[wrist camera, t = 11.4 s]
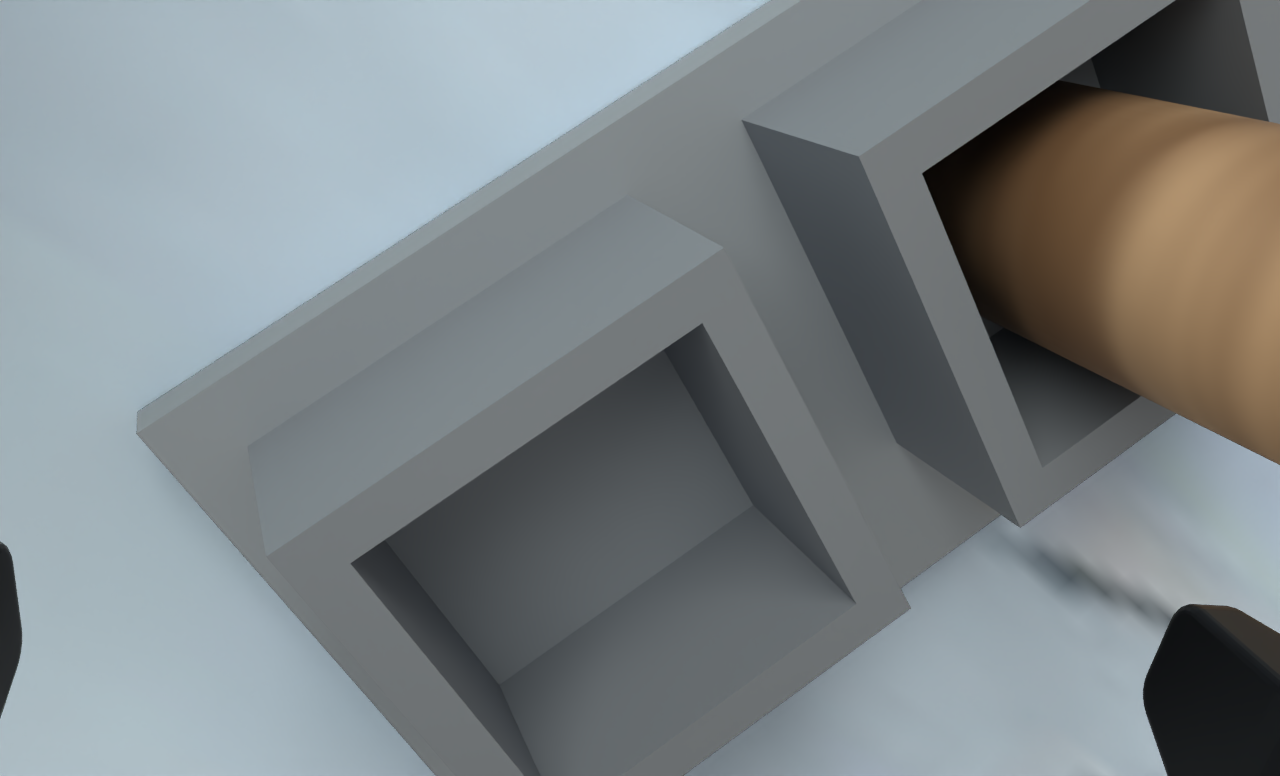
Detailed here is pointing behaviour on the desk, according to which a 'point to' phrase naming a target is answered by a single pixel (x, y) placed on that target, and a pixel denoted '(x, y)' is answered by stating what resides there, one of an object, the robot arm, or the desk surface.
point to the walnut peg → (1131, 247)
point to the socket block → (680, 387)
